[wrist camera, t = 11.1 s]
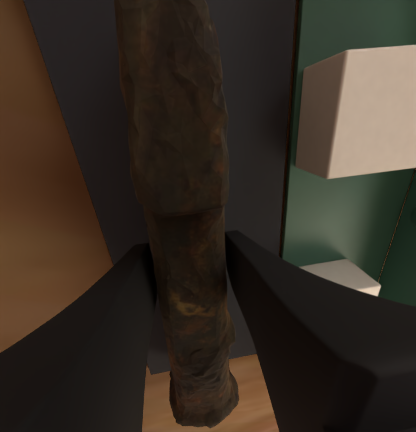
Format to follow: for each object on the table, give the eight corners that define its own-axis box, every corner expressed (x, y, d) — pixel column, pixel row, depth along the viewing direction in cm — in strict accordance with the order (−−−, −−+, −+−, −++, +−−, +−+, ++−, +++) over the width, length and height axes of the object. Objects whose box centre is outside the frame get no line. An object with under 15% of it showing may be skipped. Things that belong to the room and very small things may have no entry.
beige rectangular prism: (294, 167, 10) (326, 180, 8) (302, 68, 8) (347, 49, 6) (370, 158, 10) (421, 167, 8) (393, 60, 9) (465, 40, 7)
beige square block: (282, 315, 14) (301, 349, 12) (286, 268, 13) (308, 298, 10) (336, 304, 15) (364, 336, 12) (347, 258, 13) (381, 285, 11)
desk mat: (151, 368, 15) (150, 375, 15) (15, -39, 6) (6, -50, 6) (270, 345, 16) (272, 351, 16) (294, -47, 7) (300, -56, 7)
